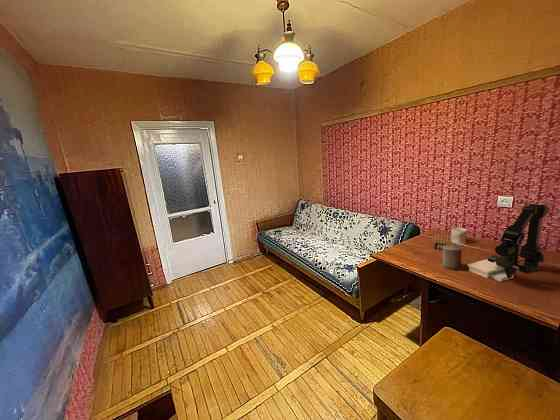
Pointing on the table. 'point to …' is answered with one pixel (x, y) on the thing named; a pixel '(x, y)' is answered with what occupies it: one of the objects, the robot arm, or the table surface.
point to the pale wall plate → (499, 275)
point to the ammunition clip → (442, 242)
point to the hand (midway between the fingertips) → (508, 278)
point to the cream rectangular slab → (484, 268)
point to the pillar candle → (452, 257)
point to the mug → (458, 235)
